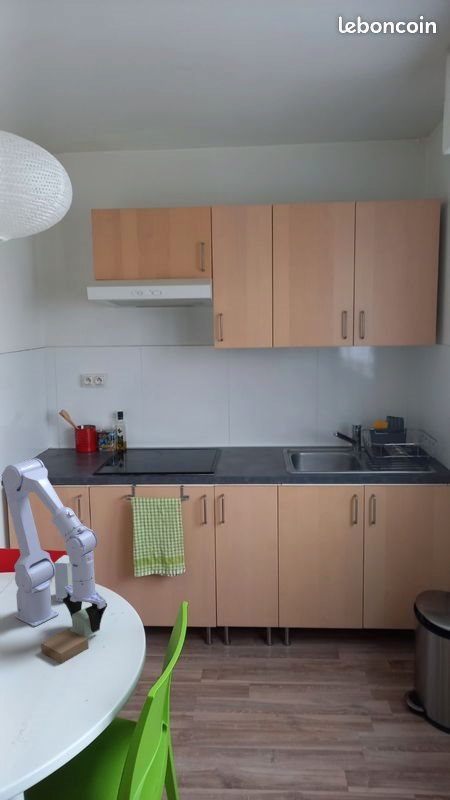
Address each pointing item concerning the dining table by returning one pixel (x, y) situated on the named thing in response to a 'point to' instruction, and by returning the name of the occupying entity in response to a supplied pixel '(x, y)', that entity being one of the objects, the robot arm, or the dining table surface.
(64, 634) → the walnut block
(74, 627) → the sage cube
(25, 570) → the robot arm
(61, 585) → the skincare box
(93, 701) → the dining table surface
